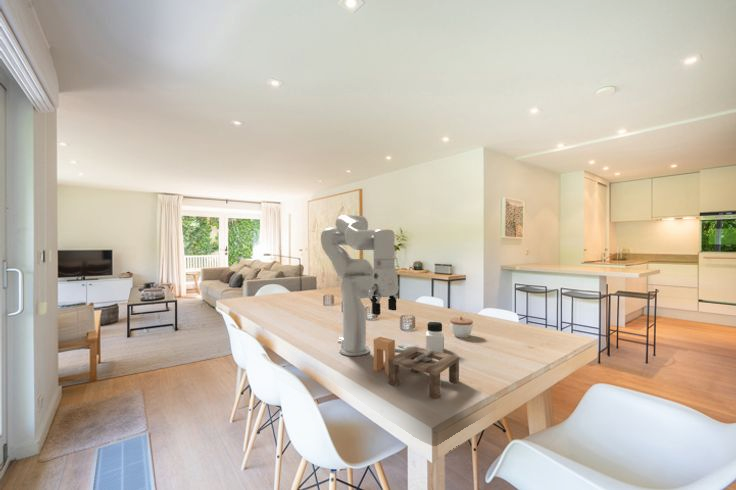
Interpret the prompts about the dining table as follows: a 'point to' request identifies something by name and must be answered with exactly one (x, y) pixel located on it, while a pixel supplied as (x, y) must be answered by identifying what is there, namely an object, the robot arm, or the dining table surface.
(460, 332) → the lidded jar
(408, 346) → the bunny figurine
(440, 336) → the medicine bottle
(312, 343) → the dining table surface
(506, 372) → the dining table surface
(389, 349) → the orange boxy part
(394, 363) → the brown square frame
